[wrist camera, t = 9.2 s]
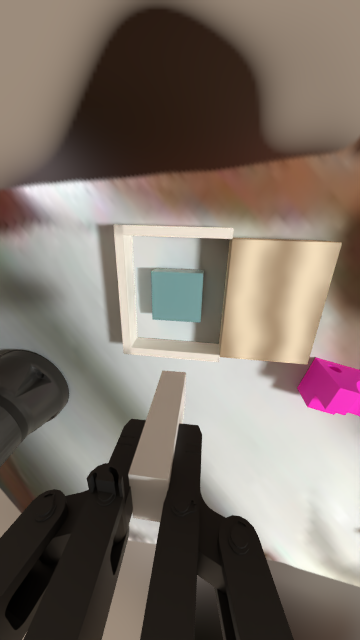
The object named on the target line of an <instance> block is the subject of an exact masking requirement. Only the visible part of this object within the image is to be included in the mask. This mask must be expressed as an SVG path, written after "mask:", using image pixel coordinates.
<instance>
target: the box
mask: <svg viewBox="0 0 360 640" xmlns="http://www.w3.org/2000/svg"><path fill="white" fill-rule="evenodd" d="M113 227H114V239H115V251H116V264H117V276H118V289H119V301H120V314H121V326H122V339H123V351H124V354H133V355H144V356H155V357H167V358H178V359H189V360H200V361H212V362H219V357H220V352H219V344H215V343H203V342H190V341H178V340H165V339H153V338H141V337H138V336H137V317H136V297H135V278H134V259H133V239H132V236H159V237H189V238H219V239H232V237H233V228H214V227H179V226H143V225H113Z"/></svg>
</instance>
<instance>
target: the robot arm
mask: <svg viewBox="0 0 360 640" xmlns="http://www.w3.org/2000/svg"><path fill="white" fill-rule="evenodd" d="M185 387H186V373H185V372H173V371H162V374H161V377H160V380H159V383H158V386H157V389H156V392H155V395H154V398H153V401H152V404H151V407H150V410H149V413H148V416H147V419H146V420H138V419H131V420H130V421H129V422H128V423H127V424H126V425H125V426H124V428H123V430H122V433H121V435H120V437H119V440H118V442H117V445H116V447H115V449H114V451H113V454H112V456H111V458H110V461H109V463H106V464H102V465H100V466H97V467H96V468H95V469H94V470H93V471H91V473H90V474H89V476H88V477H87V482H88V487H89V490H87V491H84V492H81V493H77V494H72V495H68V496H65V495H64V494H63V493H62V492H61V491H60V490H55V489H53V490H49V491H46V492H44V493H42V494H40V495H39V496H38V497H37V498H36V499H34V500H33V501H32V502H31V504H30V505H29V506H28V507H27V508H26V509H25V510H24V512H23V513H22V514H21V515H20V516H19V517H18V518H17V520H16V521H15V522H14V523H13V524H12V525H11V526H10V528H9V529H8V530H7V531H6V532H5V533H4V534H3V536H2V537H1V538H0V640H22V638H23V637H24V635H25V634H26V635H25V637H24V640H101V639H102V636H103V632H104V628H105V624H106V621H107V617H108V612H109V609H110V605H111V602H112V597H113V594H114V590H115V586H116V582H117V578H118V575H119V571H120V567H121V563H122V559H123V556H124V552H125V548H126V544H127V540H128V536H129V522H130V518H131V515H132V512H133V518H138V519H144V520H150V521H157V522H160V527H159V533H158V538H157V544H156V551H155V556H154V562H153V568H152V574H151V579H150V585H149V591H148V598H147V603H146V609H145V615H144V621H143V627H142V633H141V639H140V640H194V635H195V610H196V585H197V584H196V583H197V575H199V576H200V577H201V578H203V579H204V580H206V581H207V582H208V583H210V584H211V585H213V586H214V587H215V593H216V599H217V604H218V610H219V616H220V622H221V628H222V633H223V639H224V640H294V639H293V637H292V633H291V630H290V627H289V625H288V622H287V619H286V616H285V613H284V610H283V607H282V604H281V601H280V598H279V595H278V593H277V590H276V587H275V584H274V581H273V578H272V575H271V572H270V569H269V566H268V564H267V560H266V558H265V555H264V552H263V549H262V546H261V543H260V540H259V537H258V535H257V533H256V531H255V529H254V527H253V526H252V525H251V524H250V523H249V522H248V521H247V520H246V519H244V518H242V517H240V516H233V515H232V516H230V517H227V518H225V517H223V516H221V515H220V514H218V513H216V512H214V511H213V510H212V509H210V508H209V507H208V506H207V505H206V504H205V502H204V500H203V498H202V495H201V492H200V474H201V447H202V433H201V431H200V428H199V426H198V425H189V424H183V417H184V410H185ZM68 398H69V389H68V385H67V382H66V380H65V378H64V377H63V375H62V374H61V372H60V371H59V370H58V369H57V368H56V367H55V366H54V365H53V364H52V363H51V362H49V361H48V360H46V359H45V358H43V357H41V356H39V355H37V354H34V353H31V352H27V351H12V352H8V353H6V354H4V355H3V356H1V357H0V467H1V465H2V464H3V463H4V462H5V461H6V460H7V458H8V457H9V456H10V455H11V454H12V453H13V451H14V450H15V449H16V448H17V447H18V446H19V444H20V443H21V442H22V441H23V440H24V439H25V438H26V437H27V435H29V434H30V433H32V432H33V431H35V430H36V429H38V428H39V427H41V426H42V425H43V424H44V423H45V422H48V421H50V420H52V419H53V418H55V417H56V416H57V415H58V414H59V413H60V412H61V410H62V409H63V408H64V407H65V405H66V404H67V402H68ZM27 630H28V631H27ZM26 632H27V633H26Z"/></svg>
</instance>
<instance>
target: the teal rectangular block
mask: <svg viewBox="0 0 360 640" xmlns="http://www.w3.org/2000/svg"><path fill="white" fill-rule="evenodd" d="M203 275H204V270H191V269H167V268H155V269H154V270H152V271H151V282H152V316H153V319H155V320H170V321H185V322H201V309H202V292H203Z"/></svg>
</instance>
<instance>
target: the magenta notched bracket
mask: <svg viewBox="0 0 360 640" xmlns="http://www.w3.org/2000/svg"><path fill="white" fill-rule="evenodd" d="M297 389H298V391H299V392H300V394H301V396H302V398H303V400H304V402H305V403H306V405H307V407H309V408H313V409H316V410H320V411H323V412H326V413H330V414H333V415H334V414H335V413H339V414H342V415H346V413H352V414H355V415H358V416H360V370H358V369H354V368H351V367H347V366H344V365H340V364H337V363H333V362H330V361H326V360H323V359H319V358H316V357H315V359H314V361H313V362H312V364H311V366H310V367H309V369H308V371H307V372H306V374H305V376H304V377H303V379H302V381H301V382H300V384H299V386H298V387H297Z"/></svg>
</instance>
